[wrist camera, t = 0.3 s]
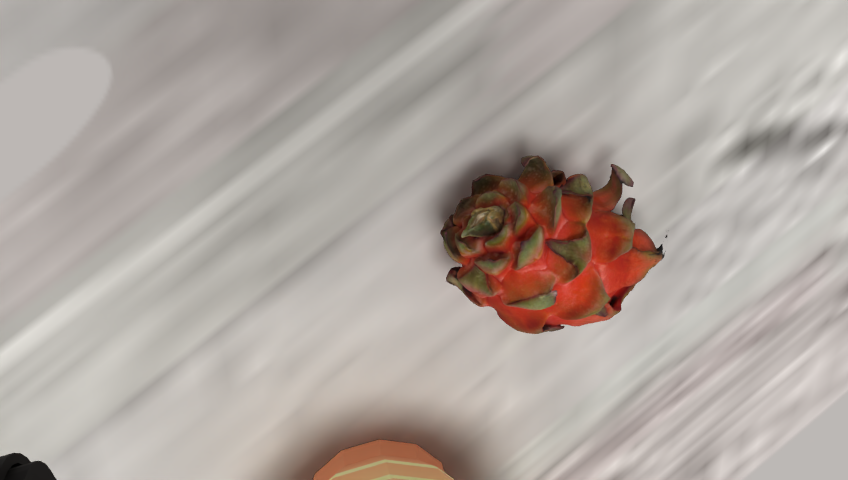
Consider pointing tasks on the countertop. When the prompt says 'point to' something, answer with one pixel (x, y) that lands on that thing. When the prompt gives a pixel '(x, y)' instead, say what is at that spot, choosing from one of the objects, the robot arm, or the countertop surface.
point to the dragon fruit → (547, 247)
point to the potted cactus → (383, 463)
